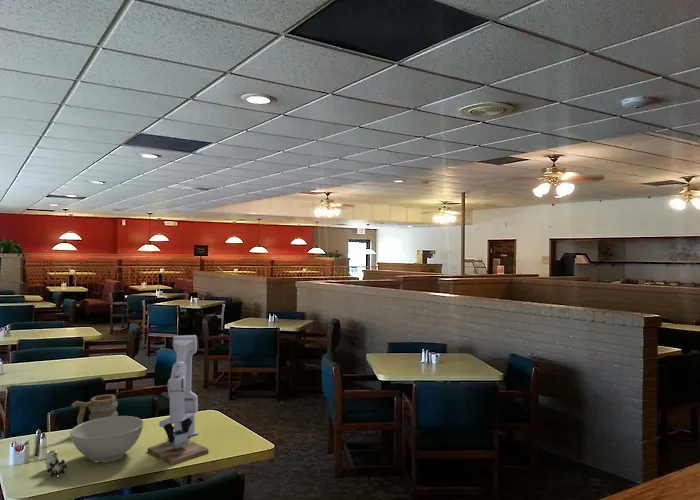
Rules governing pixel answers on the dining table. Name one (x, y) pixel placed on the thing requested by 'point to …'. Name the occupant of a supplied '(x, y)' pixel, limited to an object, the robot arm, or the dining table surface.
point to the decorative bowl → (107, 437)
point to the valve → (54, 463)
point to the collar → (179, 439)
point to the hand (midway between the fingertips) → (177, 440)
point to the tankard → (98, 407)
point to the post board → (177, 452)
